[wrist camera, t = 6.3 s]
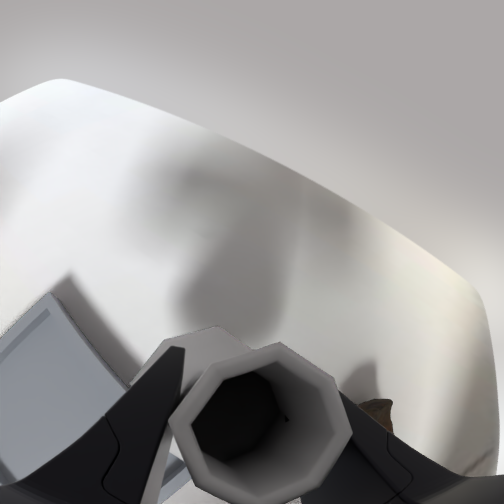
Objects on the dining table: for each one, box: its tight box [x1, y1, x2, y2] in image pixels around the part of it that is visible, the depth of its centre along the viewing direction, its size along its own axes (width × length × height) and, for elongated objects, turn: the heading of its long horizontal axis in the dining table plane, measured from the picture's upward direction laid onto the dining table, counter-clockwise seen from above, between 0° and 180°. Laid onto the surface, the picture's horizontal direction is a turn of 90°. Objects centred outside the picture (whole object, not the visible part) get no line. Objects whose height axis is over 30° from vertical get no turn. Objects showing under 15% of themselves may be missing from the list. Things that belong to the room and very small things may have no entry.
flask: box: [130, 326, 353, 504], centre depth 9 cm, size 7×7×10 cm
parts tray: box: [0, 292, 191, 504], centre depth 12 cm, size 15×15×2 cm
